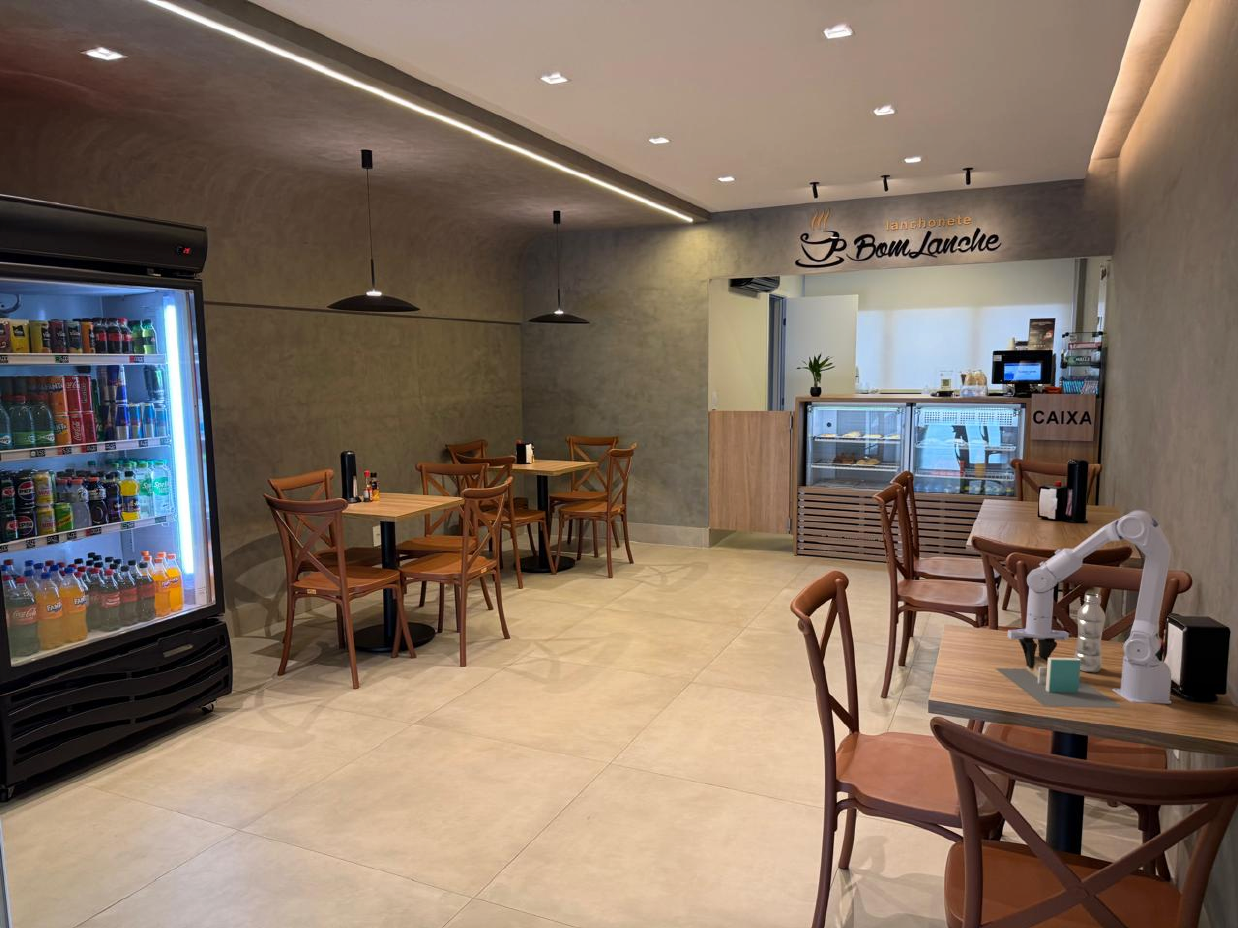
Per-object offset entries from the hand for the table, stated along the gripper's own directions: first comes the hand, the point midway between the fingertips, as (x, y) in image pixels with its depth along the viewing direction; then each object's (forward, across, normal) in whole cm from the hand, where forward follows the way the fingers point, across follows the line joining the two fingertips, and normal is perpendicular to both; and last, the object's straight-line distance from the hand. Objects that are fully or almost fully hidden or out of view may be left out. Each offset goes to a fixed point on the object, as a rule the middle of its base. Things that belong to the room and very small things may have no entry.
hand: (1035, 666), depth 211 cm
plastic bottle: (+2, -15, -3) cm, 16 cm away
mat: (+2, 0, +10) cm, 10 cm away
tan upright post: (+2, 0, +4) cm, 4 cm away
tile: (+2, 0, +13) cm, 13 cm away
